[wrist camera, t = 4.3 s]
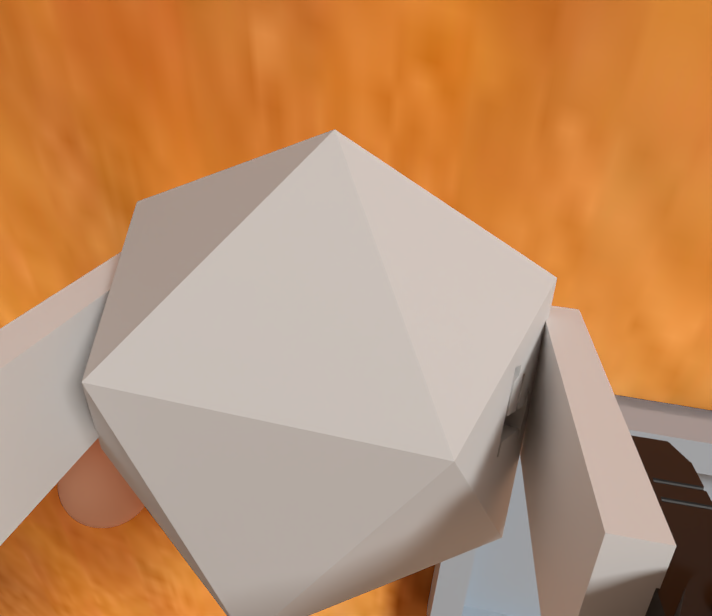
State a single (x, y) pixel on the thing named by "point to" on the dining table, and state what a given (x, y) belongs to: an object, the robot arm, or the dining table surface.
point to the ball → (97, 491)
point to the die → (315, 375)
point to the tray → (514, 550)
